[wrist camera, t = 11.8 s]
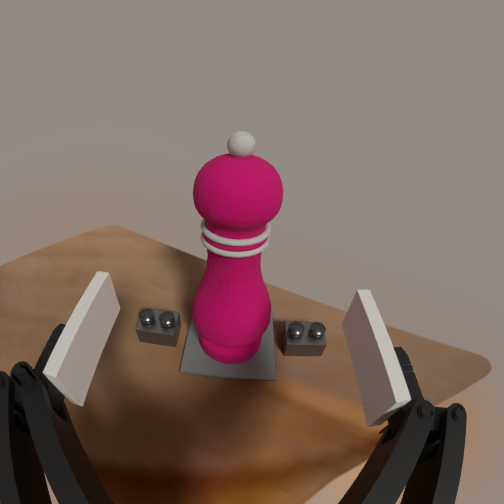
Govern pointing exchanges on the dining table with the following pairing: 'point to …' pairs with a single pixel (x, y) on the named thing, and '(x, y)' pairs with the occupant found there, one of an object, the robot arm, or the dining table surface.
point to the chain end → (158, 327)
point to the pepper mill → (234, 250)
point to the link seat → (251, 369)
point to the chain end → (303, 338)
